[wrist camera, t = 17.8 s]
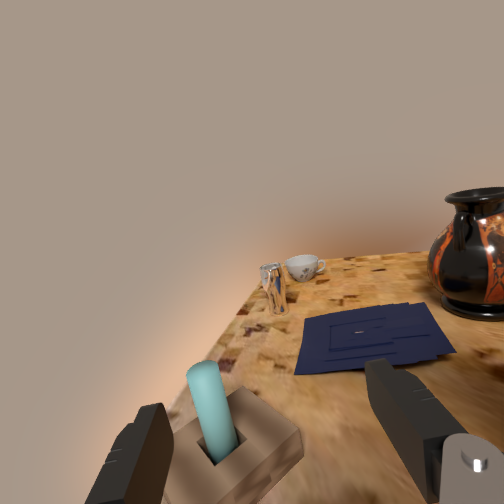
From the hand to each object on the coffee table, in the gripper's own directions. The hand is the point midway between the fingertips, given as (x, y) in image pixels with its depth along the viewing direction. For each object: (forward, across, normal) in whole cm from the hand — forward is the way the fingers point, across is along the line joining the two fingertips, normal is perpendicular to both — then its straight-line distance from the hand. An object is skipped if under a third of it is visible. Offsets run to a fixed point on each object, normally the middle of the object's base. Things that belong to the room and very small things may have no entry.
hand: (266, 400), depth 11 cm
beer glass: (+73, -5, +32) cm, 80 cm away
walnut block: (+26, +10, +32) cm, 42 cm away
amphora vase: (+54, -52, +32) cm, 82 cm away
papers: (+50, -22, +32) cm, 63 cm away
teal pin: (+26, +10, +31) cm, 41 cm away
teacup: (+97, -19, +32) cm, 104 cm away
